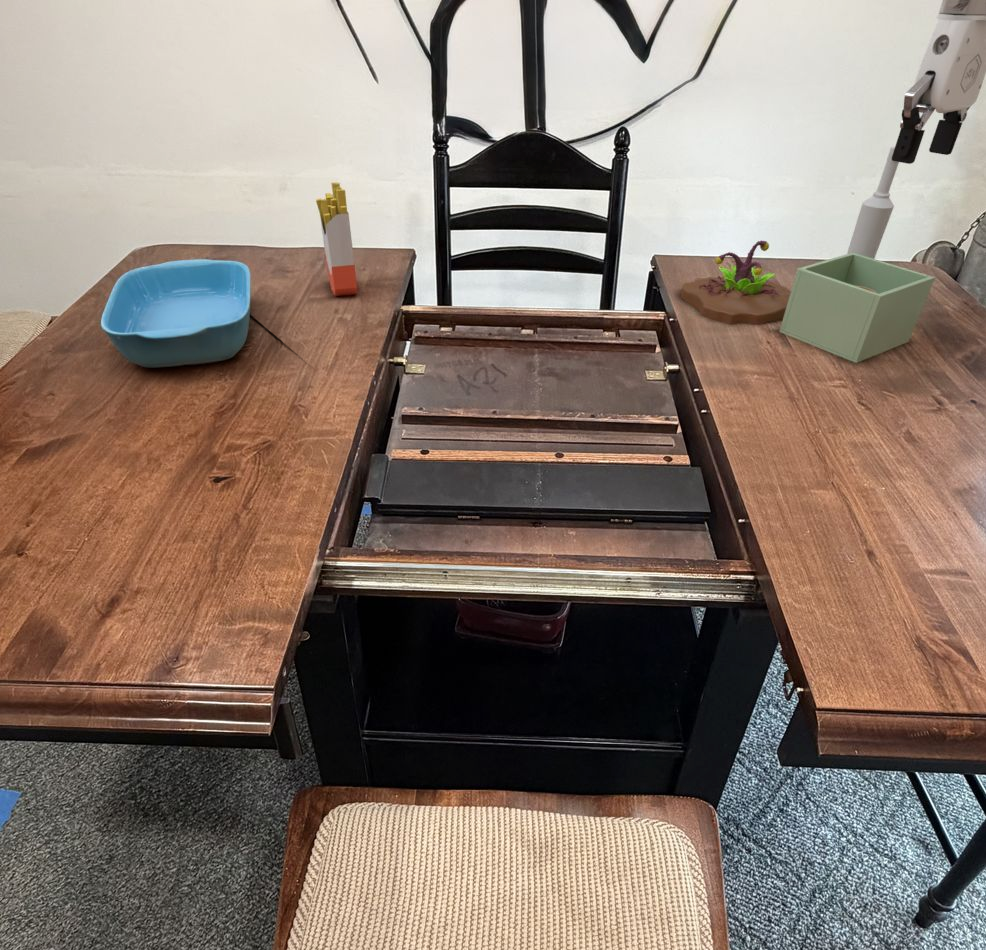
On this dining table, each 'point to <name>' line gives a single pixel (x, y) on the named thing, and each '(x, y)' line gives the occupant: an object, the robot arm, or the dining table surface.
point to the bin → (855, 305)
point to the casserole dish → (180, 312)
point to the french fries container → (338, 241)
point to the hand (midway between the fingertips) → (921, 157)
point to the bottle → (874, 214)
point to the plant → (738, 293)
